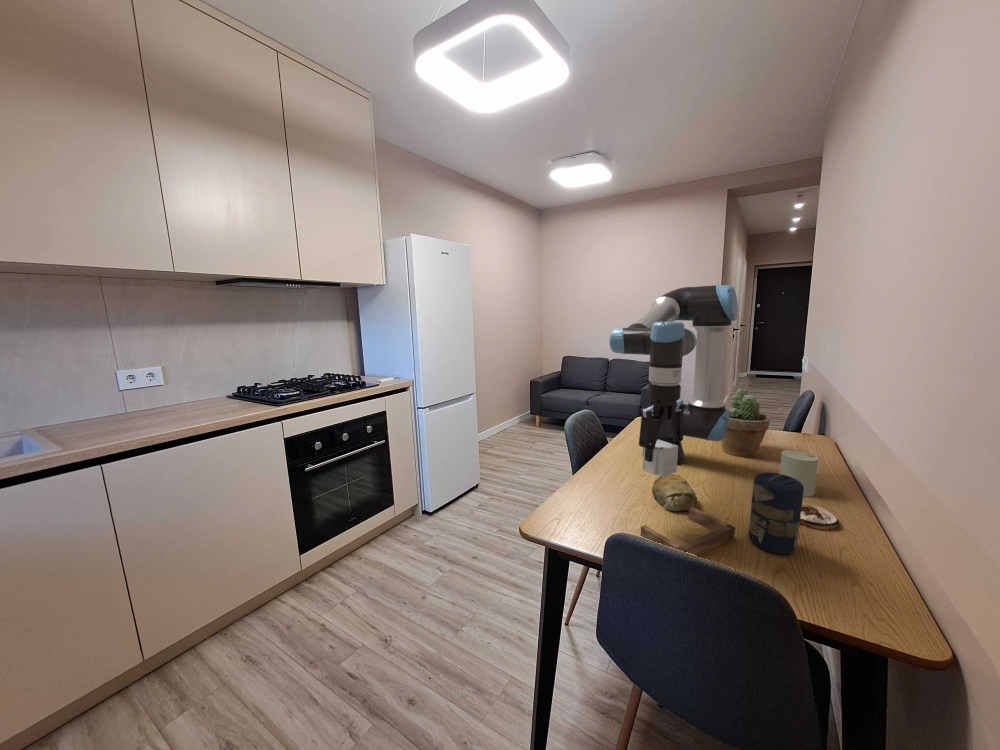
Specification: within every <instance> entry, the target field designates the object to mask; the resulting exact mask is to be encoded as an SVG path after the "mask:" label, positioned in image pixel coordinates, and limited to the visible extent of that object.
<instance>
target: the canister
mask: <svg viewBox="0 0 1000 750" xmlns="http://www.w3.org/2000/svg"><path fill="white" fill-rule="evenodd" d="M803 492H804V487H803V485H802V483H801V482H799V481H798V480H796V479H794V478H792V477H790V476H787V475H783V474H780V472H779V473H777V472H770V471H769V472H768V471H766V472H759V473H757V474H756V475H755V476H754V480H753V488H752V496H751V497H752V498H751V502H750V503H751V504H750V514H749V515H750V517H749V525H748V527H749V528H748V537H749V539H750V540H751V542H752V543H754V544H755V545H756V546H758V547H759V548H761V549H763V550H765V551H768V552H772V553H775V554H781V555H785V554H786V555H787V554H792V553H794V552H795V551H796V550H797V547H798V539H799V533H800V526H801V525H800V515H801V508H802V503H803V499H804V496H803Z"/></svg>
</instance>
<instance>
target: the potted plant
mask: <svg viewBox="0 0 1000 750" xmlns="http://www.w3.org/2000/svg"><path fill="white" fill-rule="evenodd" d="M748 392H749V391H748V390H747V389H745V388H738V389H736V393H735V395H732V396H731V400H730V403H731V408H729V409H728V408H727V409H728V410H730V418H729V423H728V426H727V430H726V432H725V435H724V437H723V439H722V440H720V441H719V442H720V445H721V448H722V451H723V452H724V453H726V454H728V455H731V456H735V457H740V458H752V457H755V456H756V454H757V452H758V450H759V447H760V445H761V443H762V442H763V440H764V438H765V435H766V432H767V431H768V429H769V426H770V421H771V419H772V418H771V416H769V415H767V414H764V413H762V412H760V406H761V401H760V399H758V398H756V397H755V396H753V395H751V394H748Z"/></svg>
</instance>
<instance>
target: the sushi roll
mask: <svg viewBox="0 0 1000 750" xmlns="http://www.w3.org/2000/svg"><path fill="white" fill-rule="evenodd" d="M799 526H801V527H806V528H809V529H812V530H816V531H817V530H818V531H823V530H824V531H826V530H827V531H828V530H833V529H835V528H837V527H838V526H840V521H839V519H838V518H837V516H836V515H835V514H834V513H832V512H831V511H830V510H828V509H827V508H826V507H824V506H820V505H817V504H813V503H808V502H802V508H801V515H800V525H799Z"/></svg>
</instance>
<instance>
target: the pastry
mask: <svg viewBox="0 0 1000 750" xmlns="http://www.w3.org/2000/svg"><path fill="white" fill-rule="evenodd" d="M651 492H652V495H653V496H654V498H655V501H656V502H657V503H658V504H659V505H660V506H662V507H663V509H664V510H665V511H667V512H683V511H689V508H691V507H694V508H695V505H696V504H697V502H698V497H697V494H696V492H695V490H694V489H693V488H692V486H691V485H690V484H689V481H687V479H686V478H683V477H682V476H681V475H680V474H675V473H672V474H669V475H666V476H663V477H660V476H658V477H657V479H655V480H654V481H653V485H652V486H651Z"/></svg>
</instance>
